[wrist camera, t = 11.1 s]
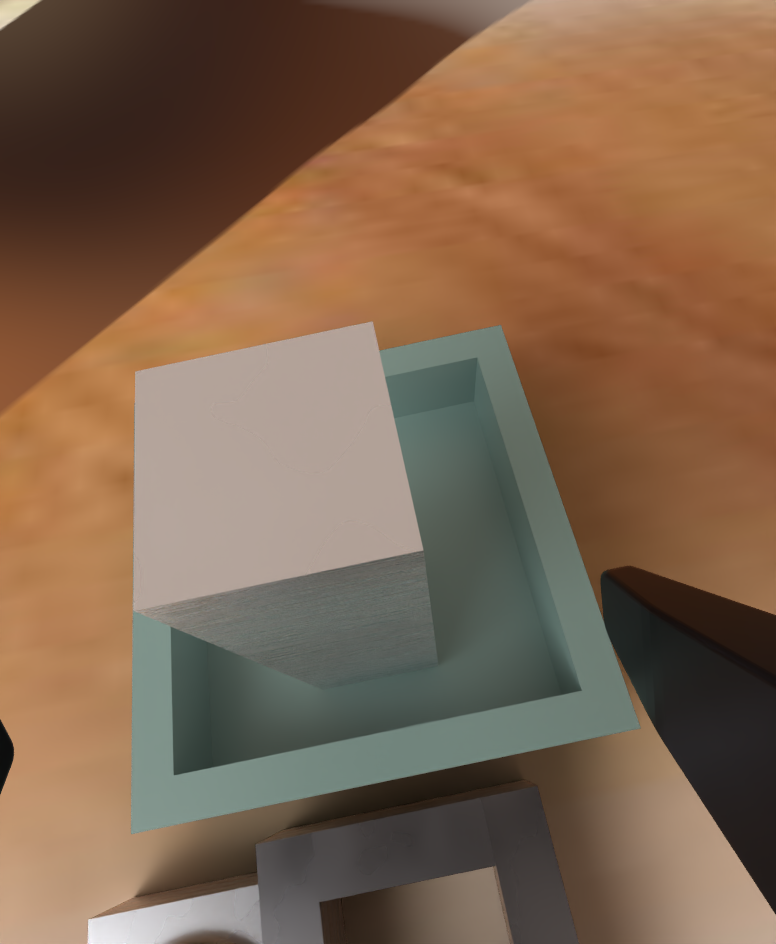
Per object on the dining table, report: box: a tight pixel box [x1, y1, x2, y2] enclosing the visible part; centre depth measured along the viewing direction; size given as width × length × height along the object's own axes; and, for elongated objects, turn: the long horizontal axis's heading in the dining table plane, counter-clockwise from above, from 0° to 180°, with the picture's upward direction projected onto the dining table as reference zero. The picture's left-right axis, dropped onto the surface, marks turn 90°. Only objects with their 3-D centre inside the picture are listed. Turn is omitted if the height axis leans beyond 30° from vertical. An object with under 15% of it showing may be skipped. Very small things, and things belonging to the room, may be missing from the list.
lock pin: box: [133, 321, 438, 690], centre depth 15 cm, size 4×4×13 cm
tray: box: [131, 325, 640, 834], centre depth 20 cm, size 14×14×4 cm
